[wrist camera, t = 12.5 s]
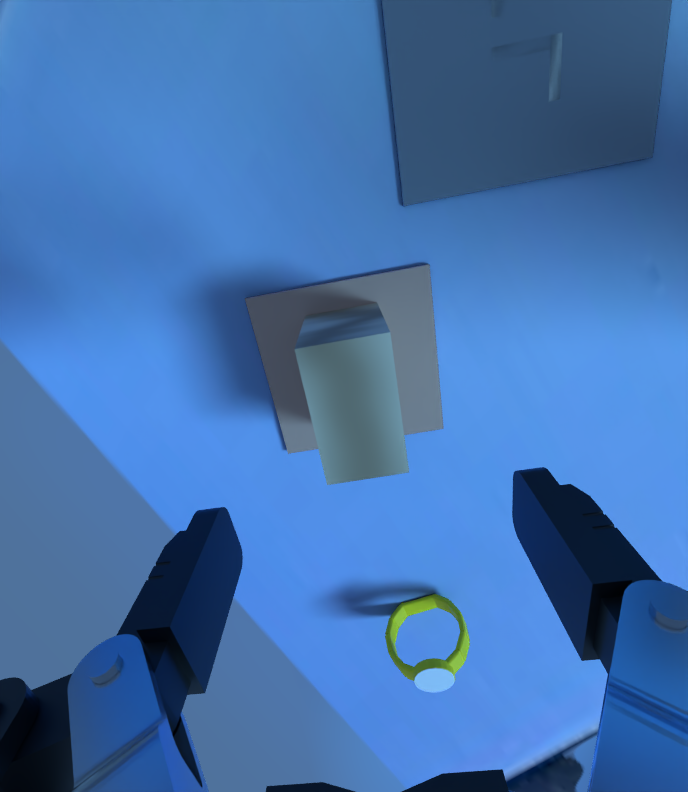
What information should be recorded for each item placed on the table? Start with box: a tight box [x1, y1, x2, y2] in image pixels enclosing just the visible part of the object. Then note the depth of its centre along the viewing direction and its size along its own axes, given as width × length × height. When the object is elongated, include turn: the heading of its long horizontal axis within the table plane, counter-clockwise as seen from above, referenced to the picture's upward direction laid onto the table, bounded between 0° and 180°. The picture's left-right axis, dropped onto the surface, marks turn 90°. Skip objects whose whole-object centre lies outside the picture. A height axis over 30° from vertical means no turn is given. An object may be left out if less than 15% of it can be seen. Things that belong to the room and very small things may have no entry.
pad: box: [245, 264, 443, 454], centre depth 23 cm, size 10×10×1 cm
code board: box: [381, 0, 672, 206], centre depth 17 cm, size 12×12×1 cm
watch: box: [385, 594, 470, 692], centre depth 29 cm, size 6×3×6 cm, turn 112°
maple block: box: [294, 303, 409, 485], centre depth 20 cm, size 4×7×6 cm, turn 10°
